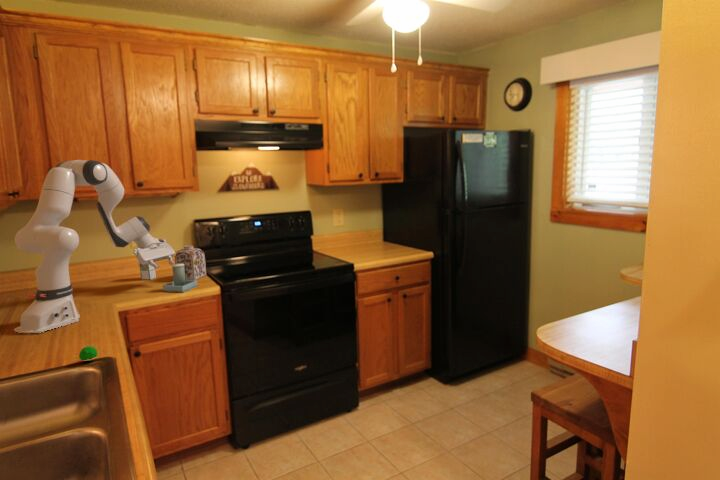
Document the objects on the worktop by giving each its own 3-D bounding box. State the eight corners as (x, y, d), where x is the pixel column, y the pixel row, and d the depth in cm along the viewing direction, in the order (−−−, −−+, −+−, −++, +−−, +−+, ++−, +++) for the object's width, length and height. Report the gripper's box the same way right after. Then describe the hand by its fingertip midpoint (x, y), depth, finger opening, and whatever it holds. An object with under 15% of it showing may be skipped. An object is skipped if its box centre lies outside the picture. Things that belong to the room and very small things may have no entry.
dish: (182, 292, 220) (182, 286, 219) (163, 291, 223) (162, 285, 222) (197, 286, 231) (197, 280, 230) (178, 285, 234) (178, 279, 233)
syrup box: (156, 277, 253) (153, 252, 250) (150, 280, 247) (147, 254, 245) (146, 277, 253) (143, 252, 251) (140, 280, 248) (137, 254, 245)
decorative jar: (176, 280, 245) (172, 247, 242) (188, 274, 256) (185, 243, 253) (195, 280, 242) (192, 248, 239) (207, 275, 253) (204, 244, 250)
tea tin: (181, 289, 223) (179, 266, 221) (171, 288, 225) (169, 265, 223) (189, 285, 228) (186, 263, 226) (179, 285, 230) (177, 263, 228)
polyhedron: (82, 359, 145) (80, 345, 144) (100, 357, 146) (98, 343, 146) (78, 365, 140) (76, 351, 139) (96, 363, 142) (94, 348, 141)
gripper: (134, 245, 220) (150, 266, 218) (167, 238, 238) (182, 257, 236) (128, 254, 223) (145, 274, 220) (161, 246, 241) (177, 265, 239)
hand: (165, 265), depth 228 cm, fingers open, 8 cm apart
